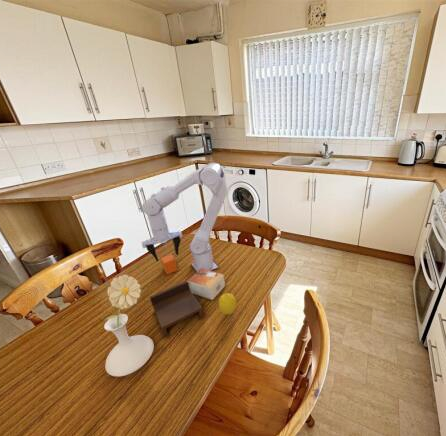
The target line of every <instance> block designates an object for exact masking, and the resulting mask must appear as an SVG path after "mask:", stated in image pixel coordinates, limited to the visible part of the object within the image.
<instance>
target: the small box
mask: <svg viewBox="0 0 446 436" xmlns="http://www.w3.org/2000/svg"><path fill="white" fill-rule="evenodd" d="M186 281H187V282H188V285H189V289H190V290H191V292H192V294H193V295H196V296H200V297H202V298H205V299H207V300H211V301H213V300H214V299H215V298H216V297H217V296H218V295H219V294H220V293H221V292H222V291H223V290H224V288H225V287H226V282H225V275H224V274H223V273H219V272H216V271H213V270H211V271H209V270H205V269H200V270H199V271H198V272H197V271H196V272H195V273H194V274H193V275H192V276H190V277H189V278H188V279H187V280H186Z"/></svg>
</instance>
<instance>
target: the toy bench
mask: <svg viewBox="0 0 446 436" xmlns="http://www.w3.org/2000/svg"><path fill="white" fill-rule="evenodd" d="M149 299H150V303H151V305H152V308H153V311H154V314H155V317H156V319H157V321H158V324H159V326H160V329H161V331H162V333H163V337H164V338H166V337H169V333H168V330H167V329H168V328H169V327H172V326H174V325H176V324H177V323H180V322H181V321H183V320H186V319H187V318H189V317H191V316H193V315H195V314H198V317H199V318H200V319H202V318H204V317H205V316H204V312H203V307H202V306H201V304H200V302H199V301H198V299H197V298H196V297H195V294H193V293H192V292H191V290H190V289H189V285H188V282H187V280H185V281H183V282H181V283H178V284H176V285H173V286H171V287H168V288H166V289H165V290H162V291H160V292H157V293H155V294H153V295H150V296H149Z"/></svg>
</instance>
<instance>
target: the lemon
mask: <svg viewBox="0 0 446 436" xmlns="http://www.w3.org/2000/svg"><path fill="white" fill-rule="evenodd" d="M237 305H238V304H237V300H236V297H235V295H233V294H232V293H229V292H227V293H224V294H222V295H221V296H220V297H219V300H218V309H219V311H220V312H221V313H222V314H223V315H225V316H230V315H232V314H233V313H235V312H236V309H237Z"/></svg>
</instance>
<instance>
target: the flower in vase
mask: <svg viewBox="0 0 446 436" xmlns="http://www.w3.org/2000/svg"><path fill="white" fill-rule="evenodd" d="M138 282H139V280H138V279H136V278H134V277H133V276H129V275H128V274H123V275H119V276H118V277H114V278H112V281H110V286H108V288H107V296H108V300H109V301H110V303H111V306H112V307H115V308H118V311H117V314H114V315H111V316H108V317H106V318H105V319H104V318H103V319H102V320H103V321H106V322H105V323H104V326H103V327H104V328H103V329H104V330H106V331H107V332H111V333H113V334H114V335H115V337H116V339H117V341H118V343H117V344H116V345H115V346H114V347H113V348H112V349H111V350H110V352H109V353H108V355H107V357H106V359H105V365H104V366H105V367H104V368H105V371H106V373H107V374H108V375H110V376H112V377H126V376H128V375H132V374H133V373H135V372H136V371H138V370H140V369H141V368H142V367H143V366H144V365H145V364H147V362H148V361H149V360H150V358H151V356H152V355H153V352H154V348H155V344H154V341H153V339H152V338H150V337H149V336H147V335H145V334H135V335H131V336H129V334H128V331H127V326H126V325H127V322H128V320H129V316H128V315H127V314H125V313H121V310H124V309H130V308H132V307H133V306H134V305H136V304H137V303H138V299H139V298H141V292H142V289H141V284H139V283H138Z"/></svg>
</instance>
